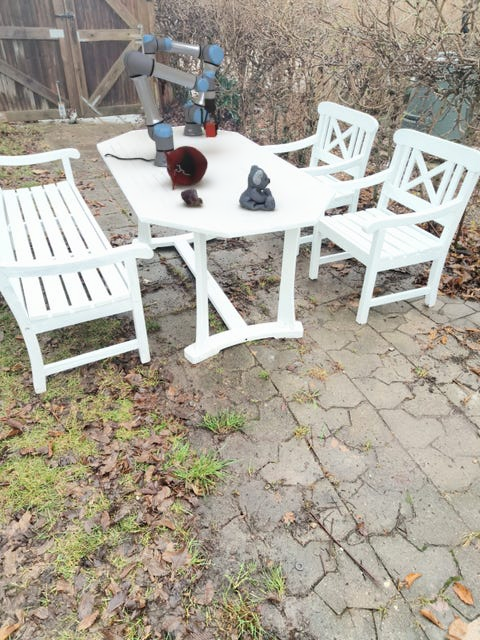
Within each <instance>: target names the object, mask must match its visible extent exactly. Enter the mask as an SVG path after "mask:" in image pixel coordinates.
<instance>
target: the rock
mask: <svg viewBox="0 0 480 640" xmlns="http://www.w3.org/2000/svg"><path fill="white" fill-rule="evenodd" d="M180 197H181V200H182V201H183V202H184V203H185V205H187V206H189V207H191V206H192V207H193V206H201V205H203V204H204V202H203V199H202V197H199V195H198V190H197V189H196V188H188V189H185V190H181V192H180Z"/></svg>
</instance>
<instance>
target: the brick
mask: <svg viewBox="0 0 480 640" xmlns="http://www.w3.org/2000/svg"><path fill="white" fill-rule="evenodd" d="M215 125H216V122H206V132H205V137H206V138H216V137H217V136H218V134H217V135H216V134H215Z"/></svg>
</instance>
